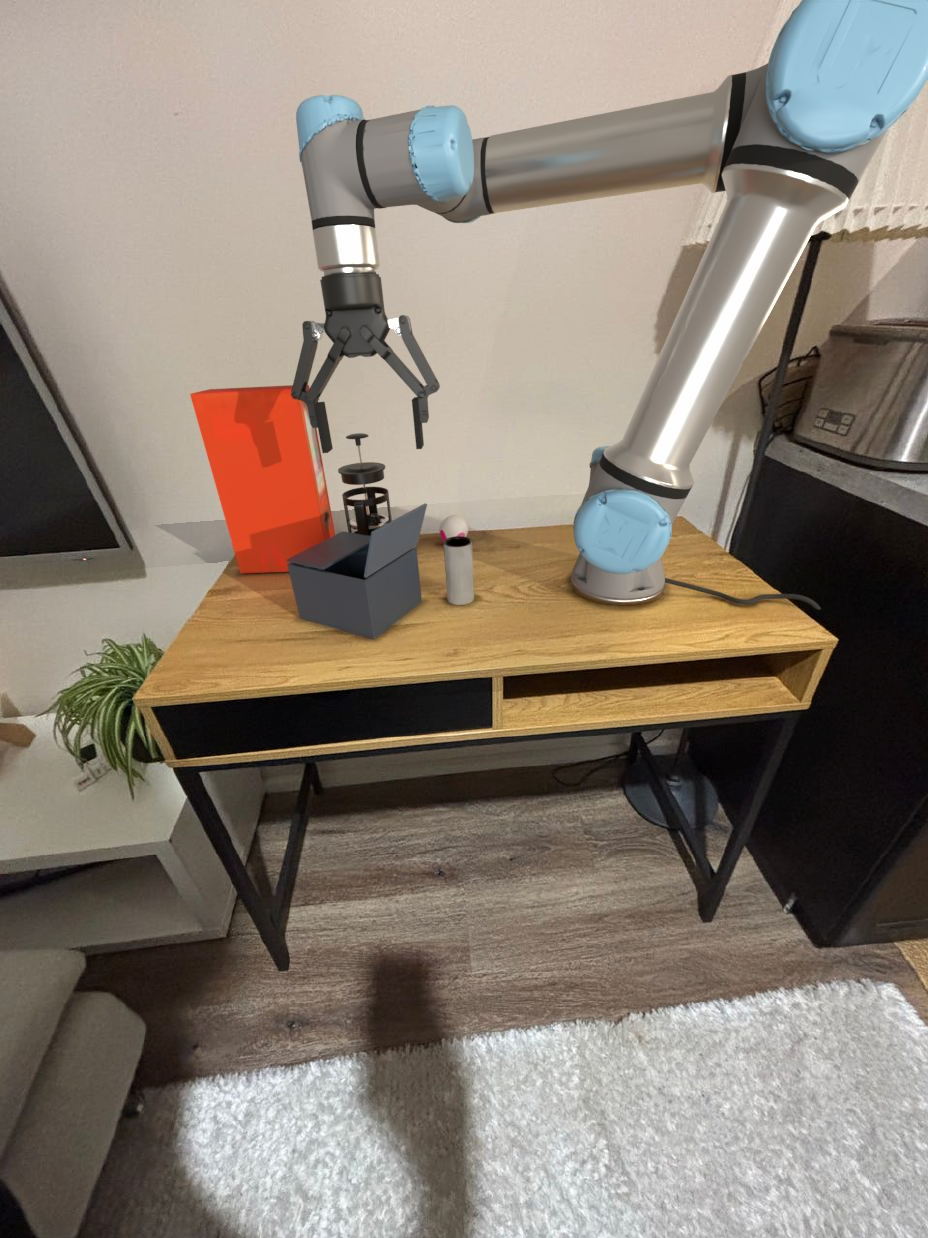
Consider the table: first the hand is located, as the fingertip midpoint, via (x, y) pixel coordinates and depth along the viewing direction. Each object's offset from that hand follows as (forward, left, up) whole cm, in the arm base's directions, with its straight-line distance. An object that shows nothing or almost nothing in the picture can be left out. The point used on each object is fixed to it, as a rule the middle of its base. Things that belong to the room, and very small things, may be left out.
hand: (373, 449), depth 75 cm
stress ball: (+4, -26, -25) cm, 36 cm away
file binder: (+28, -4, -25) cm, 37 cm away
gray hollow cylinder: (-10, -5, -25) cm, 27 cm away
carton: (+3, +5, -25) cm, 25 cm away
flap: (-6, +5, -11) cm, 14 cm away
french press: (+17, -16, -25) cm, 34 cm away
